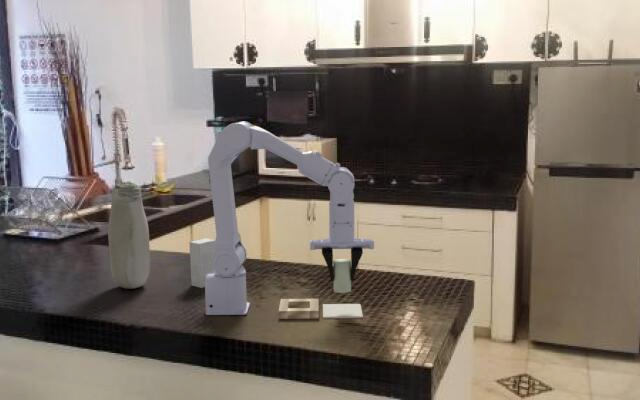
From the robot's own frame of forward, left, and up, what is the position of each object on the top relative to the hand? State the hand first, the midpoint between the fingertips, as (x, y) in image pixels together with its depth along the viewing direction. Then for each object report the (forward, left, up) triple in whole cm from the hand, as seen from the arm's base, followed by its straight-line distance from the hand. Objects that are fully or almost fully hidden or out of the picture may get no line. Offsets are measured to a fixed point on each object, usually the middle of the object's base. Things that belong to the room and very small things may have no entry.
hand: (342, 279), depth 153 cm
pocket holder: (-10, 0, -8) cm, 13 cm away
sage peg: (0, 0, -3) cm, 3 cm away
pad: (0, 0, -8) cm, 8 cm away
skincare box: (-36, +24, -8) cm, 44 cm away
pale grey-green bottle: (-55, +22, -8) cm, 60 cm away
